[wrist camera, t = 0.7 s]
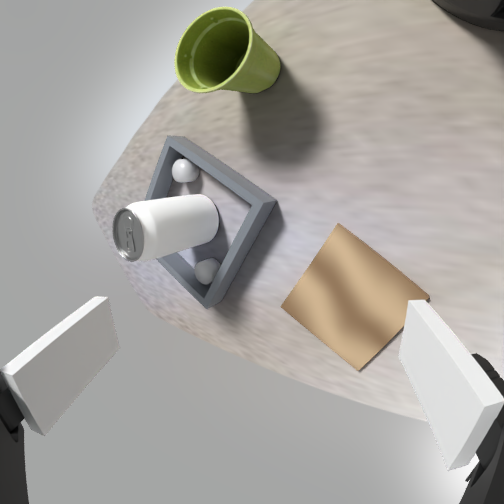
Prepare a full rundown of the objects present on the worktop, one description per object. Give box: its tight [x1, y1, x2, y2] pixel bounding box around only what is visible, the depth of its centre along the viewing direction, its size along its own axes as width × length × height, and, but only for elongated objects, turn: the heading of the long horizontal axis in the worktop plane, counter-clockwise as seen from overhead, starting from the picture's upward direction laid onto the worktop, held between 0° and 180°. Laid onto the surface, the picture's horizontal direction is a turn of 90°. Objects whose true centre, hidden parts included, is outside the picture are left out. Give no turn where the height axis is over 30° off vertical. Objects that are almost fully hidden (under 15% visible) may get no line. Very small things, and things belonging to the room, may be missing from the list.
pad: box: [281, 223, 429, 371], centre depth 31 cm, size 12×12×1 cm
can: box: [113, 194, 219, 262], centre depth 35 cm, size 6×6×12 cm
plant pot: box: [175, 7, 280, 93], centre depth 27 cm, size 9×9×9 cm
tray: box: [145, 136, 277, 309], centre depth 39 cm, size 16×16×3 cm
